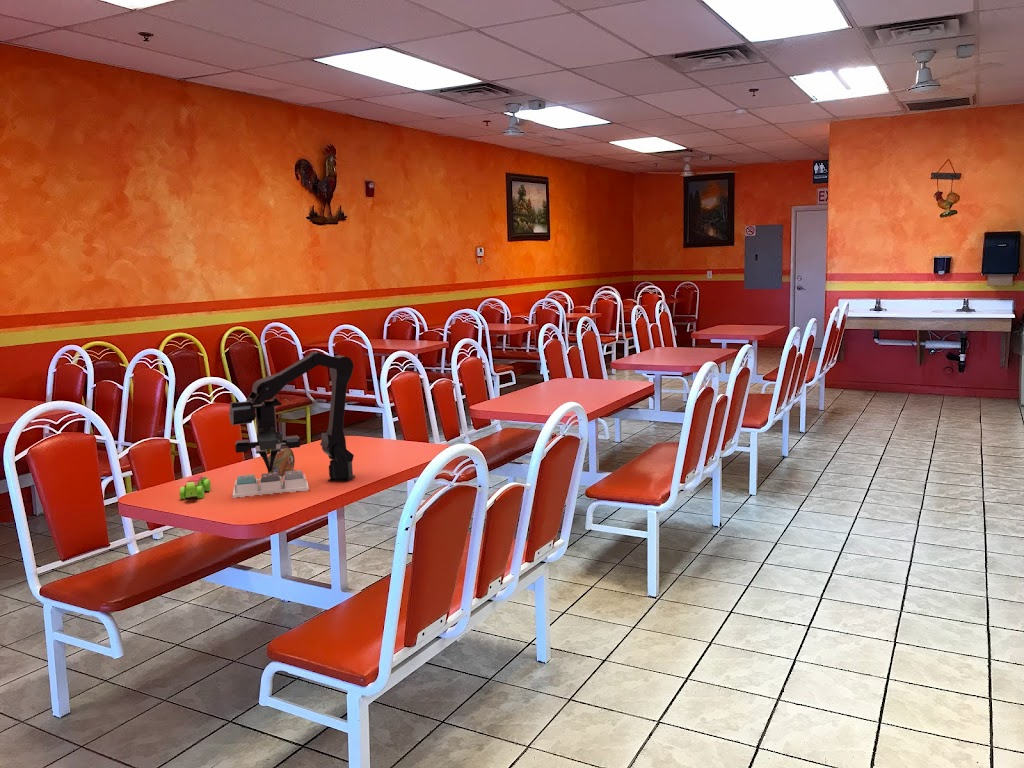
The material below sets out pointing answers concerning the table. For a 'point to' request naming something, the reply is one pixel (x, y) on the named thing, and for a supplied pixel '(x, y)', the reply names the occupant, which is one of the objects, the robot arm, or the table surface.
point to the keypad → (270, 487)
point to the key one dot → (246, 479)
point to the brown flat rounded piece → (283, 461)
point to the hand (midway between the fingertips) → (269, 471)
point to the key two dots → (293, 475)
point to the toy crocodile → (195, 487)
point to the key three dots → (270, 477)
